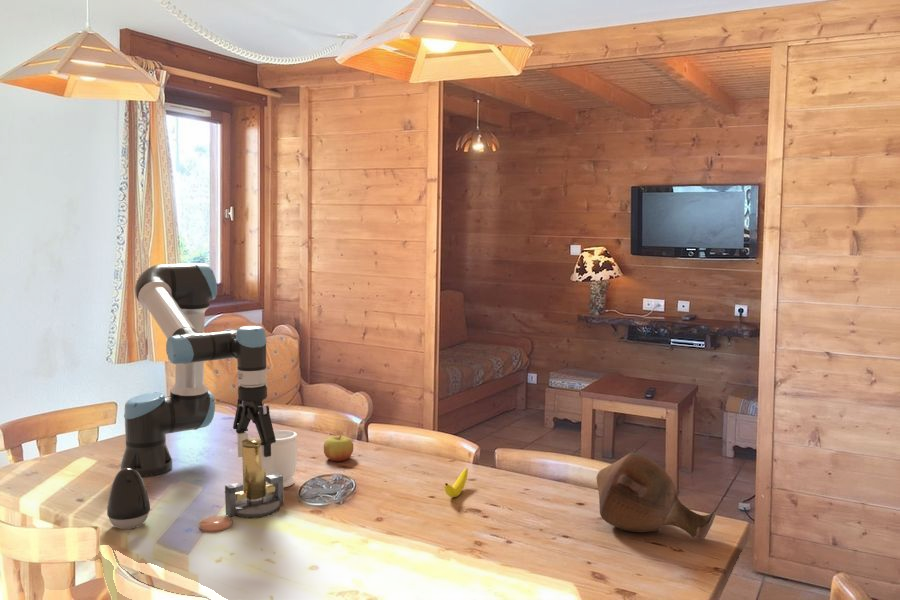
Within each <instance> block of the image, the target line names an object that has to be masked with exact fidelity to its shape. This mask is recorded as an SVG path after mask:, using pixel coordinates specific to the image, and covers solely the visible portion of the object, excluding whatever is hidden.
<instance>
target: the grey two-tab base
mask: <svg viewBox="0 0 900 600" xmlns="http://www.w3.org/2000/svg"><path fill="white" fill-rule="evenodd" d="M266 482H268V483H269V484H273V485H274V486H275V492H272V493H273V494H270V493H267V494H266V496H264V497H262V498H258V499H247V498H246V499H242V500H238V501H237V500H236V497H235V493H237V492H241V491H243V484H242V483H240V482H234V483H230V484H225V485H224V493H225V495H224V497H225V498H224V500H225V516H227V515H228V516H227V517H229V518H231V519H232V518H235V516H236V518H241V519H260V518H265V517H268V515H269V516H271V515H273V513H274V514H275V513H277V512H278V511H279V510H280V508H281V507H280V506H281V505H284V488H283V476H282V475H280V474H278V473H277V474H273V475H268V476H266Z"/></svg>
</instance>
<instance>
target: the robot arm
mask: <svg viewBox="0 0 900 600" xmlns="http://www.w3.org/2000/svg"><path fill="white" fill-rule="evenodd" d="M134 291H135V292H134V294H135V297H136V300H137V302H138V303H139V304H140V306H141V307H142V308H143V309H146V310H148V312H149V313H150V315H151V316H152V317H153V319H154V321H155V323H156V324H157V325H158V326H159V329H160V330H161V332H162V333H163V334H164V336H165V337H166V339H167V340H166V344H165V351H166V356H167V358H168V361H169V363H172V364H174V365H175V368H174V369H175V372H174V373H175V376H174V377H175V382H174V385H172V387H170V391H169V396H165V395H164V394H165V393H163V392H157V391H156V392H148V393H142V394H138V395H136V396H133V397H131V398H130V399H128V400H127V401H126V402H125V404H124V415H123V418H124V433H125V449H124V452H123V455H122V459H121V462H120V470H122V469H124V468H133V469H135V470H136V471H137V472H138V473H139V474H140V476H141V477H142V478H143V477H153V476H156V475H157V476H158V475H162V474H164V473H167V472H169V471H170V470H172V468H173V458H172V455H171V453H170V450H169V448H168V446H167V441H166V435H167V434H168V435H169V434H173V433H180V432H187V431H194V430H195V431H196V430H199V429H204V428H206V427H208V426H209V425H210V424H211V423H212V421H213V420H214V417H215V411H216V402H215V397H214V394H213V392H211V391H210V390H209V387H208V386H207V385H206V384H205V382H204V378H205V377H204V376H205V375H204V373H205V371H204V370H205V366H204V365H205V362H208V361H218V360H226V359H227V360H228V359H237V374H236V378H237V384H238V386H237V397H238V398H237V402H236V403H237V405H236V406H237V407H236V411H235V416H234V420H233V423H232V428H233V430H235V432H236V433H237V434H236V435H237V458H243V455H242V441H243V440H245V439H249V432H248V431H249V429H248V427H249V425H250V422H252V423H253V424H254V426H255V429H256V431H257V433H258V436H259V438H260V439H261V443H260V455H261V469H266V468H271V467H272V466H271V444H272V443H275V442H276V439H275V435H274V431H275V430H274V427H273V422H272V419H271V415H270V406H269V405H264V403H263V401H265V400H266V399H268V385H267V383H268V373H267V372H268V370H267V369H268V368H267V337H266V329H265V328H264V327H263V326H260V325H259V326H258V325H247V326H246V325H245V326H241V327H238V328H228V329H224V330H223V331H215V332H205V318H206V315H205V312H206V311H207V310H208V309H209V308H210V305H211V303H210V302H211V301H213V300H215V299H216V298H217V294H218V284H217V279H216V275H215V273H214V271H213V269H212V268H211V266H210V265H208V264H207V263H203V262H202V263H199V262H183V263H167V264H165V263H163V264H160V263H159V264H155V265H152V266H150V267H148V268H146V270H144V271H143V272H142V273H141V274H140V275H139V277H138V278H137V281H136V283H135V289H134Z"/></svg>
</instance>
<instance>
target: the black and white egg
mask: <svg viewBox="0 0 900 600" xmlns="http://www.w3.org/2000/svg"><path fill="white" fill-rule="evenodd" d="M150 510H151V502H150V499H149V494H148V491H147V487H146V485H145V482H144V480H143V477H141V476H140V474H139V473H138V472H137V471H136V470H135V469H133V468H124V469H122V470H121V469H120V470H119V471H118V472H117V473H116V475H115V477H114V478H113V481H112V484H111V487H110V491H109V495H108V499H107V508H106V515H107V517H108V519H109V521H110V523H111V524H112V525H113V527H115V528H117V529H121V530H131V529H135V528H138V527H140V526H141V525H143V524H144V523H145V522H146V520H147V518H148V516H149V513H150V512H151V511H150Z"/></svg>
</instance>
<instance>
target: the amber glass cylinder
mask: <svg viewBox="0 0 900 600" xmlns="http://www.w3.org/2000/svg"><path fill="white" fill-rule="evenodd" d="M260 443H261V439H260V437H250V438H249V437H248V439H245V440H243V441H242V455H243V457H242V483H243V484H242V485H243V491H240V492H236V493H235V497H236V500H237V501H238V500H242V499H246V498H247V499H258V498H262V497H264V496H266V494H270V493H273V492H275V486H274V485H272V484H270V485H266V469H261V455H260Z"/></svg>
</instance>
